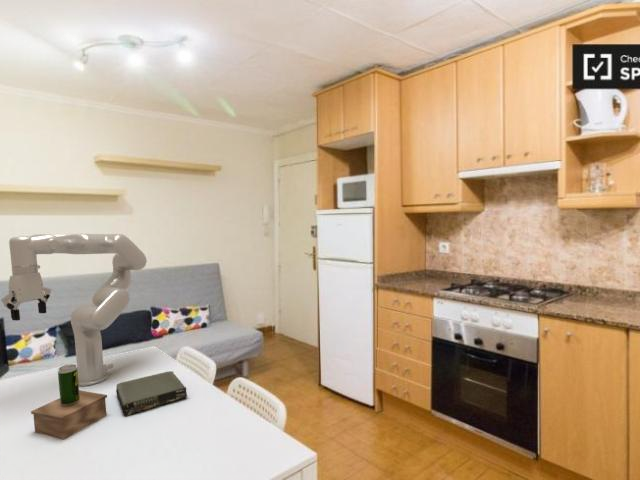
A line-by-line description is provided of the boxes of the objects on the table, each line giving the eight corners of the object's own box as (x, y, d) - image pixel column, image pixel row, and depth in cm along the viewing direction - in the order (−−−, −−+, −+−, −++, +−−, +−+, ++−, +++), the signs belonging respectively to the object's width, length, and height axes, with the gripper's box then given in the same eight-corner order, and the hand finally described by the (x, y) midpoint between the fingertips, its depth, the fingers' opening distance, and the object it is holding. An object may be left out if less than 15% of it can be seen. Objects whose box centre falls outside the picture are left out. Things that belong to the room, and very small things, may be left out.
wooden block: (79, 408, 141) (77, 389, 140) (108, 414, 136) (106, 394, 135) (32, 432, 126) (30, 411, 126) (63, 440, 121) (61, 418, 121)
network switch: (126, 421, 132) (125, 406, 132) (108, 398, 150) (107, 385, 149) (193, 397, 147) (193, 384, 147) (170, 379, 165) (169, 367, 165)
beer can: (60, 408, 127) (57, 371, 126) (60, 401, 131) (57, 366, 131) (80, 403, 130) (77, 367, 129) (79, 397, 134) (76, 362, 134)
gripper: (40, 266, 154) (45, 310, 155) (-8, 274, 137) (-3, 322, 139) (55, 266, 151) (59, 310, 153) (7, 274, 135) (12, 323, 136)
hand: (29, 316), depth 146 cm, fingers open, 9 cm apart
